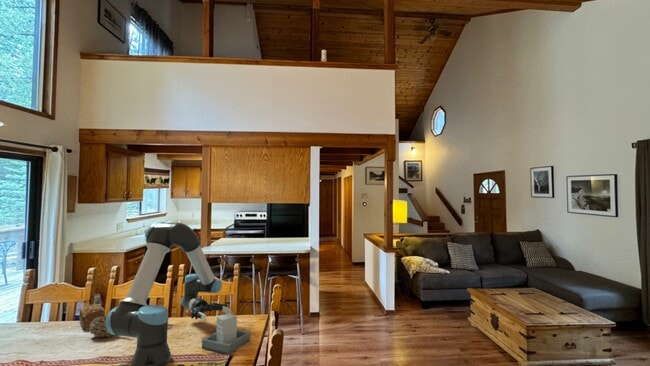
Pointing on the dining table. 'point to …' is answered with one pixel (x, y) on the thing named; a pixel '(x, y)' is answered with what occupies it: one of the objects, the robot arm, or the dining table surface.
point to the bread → (90, 314)
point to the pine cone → (99, 327)
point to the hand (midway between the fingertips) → (217, 314)
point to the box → (224, 348)
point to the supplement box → (226, 328)
